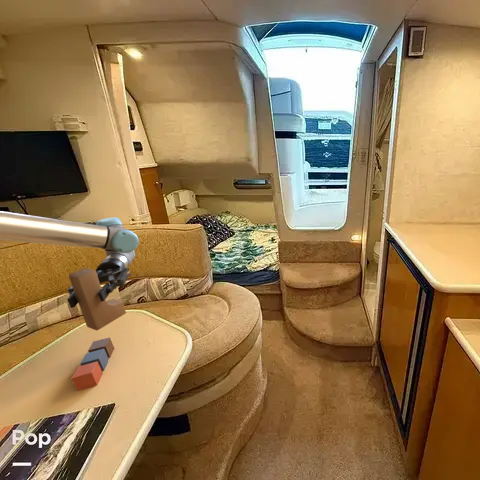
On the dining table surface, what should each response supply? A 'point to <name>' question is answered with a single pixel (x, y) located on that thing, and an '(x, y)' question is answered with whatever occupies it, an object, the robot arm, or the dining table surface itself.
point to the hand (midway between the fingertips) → (86, 300)
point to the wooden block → (94, 300)
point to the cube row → (93, 364)
